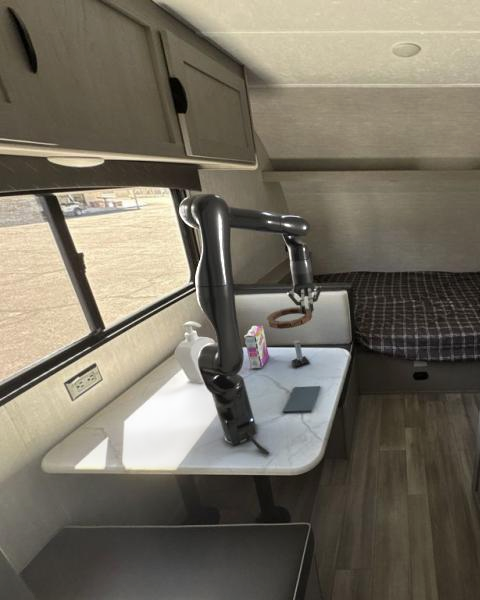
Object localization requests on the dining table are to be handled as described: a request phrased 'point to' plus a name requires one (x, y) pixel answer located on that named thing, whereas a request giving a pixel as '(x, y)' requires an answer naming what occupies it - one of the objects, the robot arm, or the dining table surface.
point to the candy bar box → (256, 346)
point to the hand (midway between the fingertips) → (307, 312)
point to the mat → (302, 399)
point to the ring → (288, 324)
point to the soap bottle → (191, 352)
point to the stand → (299, 356)
